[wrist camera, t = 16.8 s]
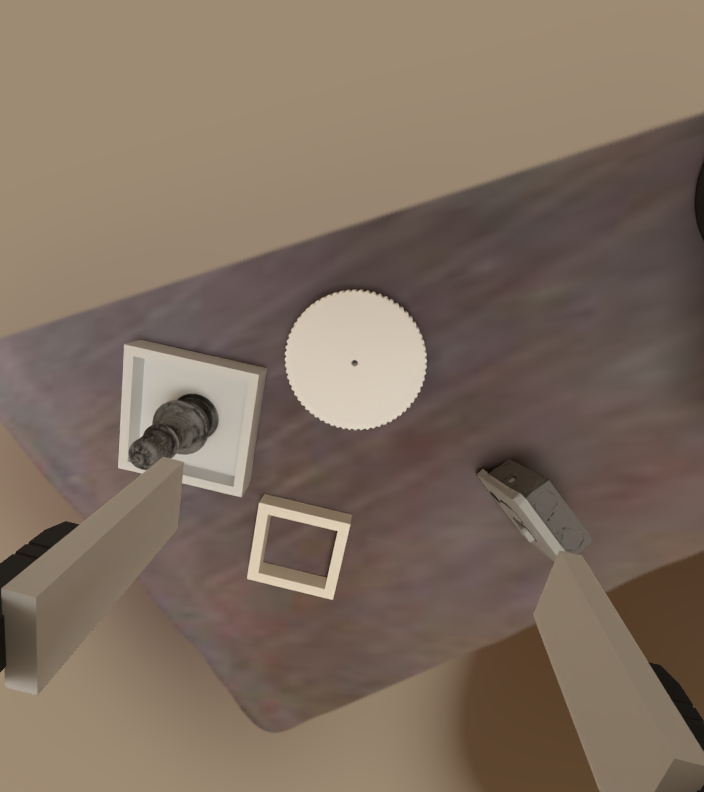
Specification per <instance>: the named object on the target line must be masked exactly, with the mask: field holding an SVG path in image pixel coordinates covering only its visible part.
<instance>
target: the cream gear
mask: <svg viewBox="0 0 704 792" xmlns="http://www.w3.org/2000/svg"><path fill="white" fill-rule="evenodd" d="M393 301H394V300H393V299H390V300H389V299H388V297H387V296H385V297H383V296H382V294H380V293H379V294H376V292H374V291H373V292H372V293H371V292H370V291H369V290H367V291H366V292H365V291H363V290H362V289H360V290H359V291H357V289H354V290H352V291H351V290H350V289H349V290H346V292H345V291H344V290H343V291H340V292H339V293H338V292H335V293H333V295H332V294H329V295H327V297H326V296H325V297H323V298H321V299H320V300H317V301H316V302H315V303H313V304H311V305H310V307H309V308H307V309H306V310H305V312H303V313H302V314H301V317H299V318H298V319H297V320H298V321H297V322H295V323H294V326H295V327H293V328H292V329H291V331H292V333H290V334H289V337H290V338H289V339H288V340H287V343H288V345H287V346H286V349H287V351H286V352H285V355H286V358H285V361H286V364H285V367H287V370H286V373H288V376H287V378H288V379H289V380H290V382H289V384H290V385H292V388H291V389H292V390H294V392H295V393H294V395H295V396H297V397H298V398H297V399H298V401H301V402H302V403H301V404H302V406H303V405H304V406H305V409H306V410H309V411H310V413H311V414H314V416H315V417H316V418H317V417H319V418H320V419H319V420H321V421H322V420H324V421H325V423H330V425H331V426H333V425H336V427H337V428H339V427H342V429H345V428H348V430H351V429H354V430H357V429H360V430H363V429H364V428H366V430H368V429H369V428H372V429H373V428H375V426H378V427H380V426H381V424H383V425H385V424H386V422H391V421H392V419H396V418H397V416H398V415H399V416H401V415H402V412H405V411H406V408H407V407H408V408H409V407H410V406H411V405H410V404H411V403H413V402H414V398H417V396H418V394H417V393H418V392H420V391H421V390H420V387H422V386H423V382H422V381H424V380H425V377H424V375H426V370H425V369H426V368H427V365H426V362H427V358H426V356H427V354H426V348H425V344H424V340H423V338H422V334H421V332H419V331H420V330H419V327H418V326H416V322H415V321H413V318H412V316H409V314H408V312H407V311H404V308H403V307H402V306H401V307H400V306H399V304H398V303H397V302H396V303H394V302H393ZM354 360H356V361H357V362H355V361H354Z"/></svg>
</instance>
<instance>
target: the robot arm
mask: <svg viewBox="0 0 704 792" xmlns="http://www.w3.org/2000/svg"><path fill="white" fill-rule="evenodd" d="M696 214H697V220H698V224H699V228H700V230H701V233H702V235H703V237H704V165H703V168H702V171H701V174H700V177H699V181H698V186H697V193H696ZM183 468H184V462H183V461H179V460H174V459H170V458H166V457H162V458H161V459H160V460H159V461H157V462H156V463H155V464H154V465H152V466H151V467H150V468H149V469H147V470H146V471H145V472H144V473H143V474H141V475H140V476H139V477H138V478H136V479H135V480H134V481H133V482H131V483H130V484H129V485H128V486H127V487H125V488H124V489H123V490H122V491H120V492H119V493H118V494H117V495H116V496H114V497H113V498H112V499H111V500H109V501H108V502H107V503H106V504H104V505H103V506H102V507H101V508H100V509H98V510H97V511H96V512H95V513H93V514H92V515H91V516H90V517H88V518H87V519H86V520H85V521H84V522H82V523H81V524H80V525H79V524H75V523H71V522H67V521H66V522H63V523H61V524H58V525H56V526H53V527H51V528H49V529H46V530H44V531H43V532H42V533H40V534H39V535H38V536H36V537H35V538H34V539H33V540H31V541H30V542H29V544H28V545H27V544H26V545H24V546H23V547H22V548H20V549H19V550H18V551H16V553H15V555H14V554H13V555H11V556H10V557H8V558H7V559H6V560H4V561H3V562H2V563H0V672H1V671H2V670H3V669H4V668H5V687H7V688H11V689H14V690H19V691H22V692H26V693H30V694H34V695H38V694H39V693H40V692H41V691H42V690H43V688H44V687H45V686H46V685H47V684H48V682H49V681H50V680H51V679H52V678H53V676H54V675H55V674H56V673H57V672H58V670H59V669H60V668H61V667H62V665H64V663H65V662H66V661H67V660H68V659H69V657H70V656H71V655H72V654H73V652H74V651H75V650H76V649H77V648H78V647H79V646H80V644H81V643H82V642H83V641H84V639H85V638H86V637H87V636H88V635H89V633H90V632H91V631H92V630H93V629H94V628H95V627H96V625H97V624H98V623H99V622H100V620H101V619H102V618H103V617H104V616H105V615H106V613H107V612H108V611H109V610H110V609H111V607H112V606H113V605H114V604H115V603H116V602H117V600H118V599H119V598H120V597H121V596H122V594H123V593H124V592H125V591H126V590H127V588H128V587H129V586H130V585H131V584H132V582H133V581H134V580H135V579H136V578H137V577H138V575H139V574H140V573H141V572H142V571H143V569H144V568H145V567H146V566H147V565H148V563H149V562H150V561H151V560H152V559H153V558H154V556H155V555H156V554H157V553H158V552H159V550H160V549H161V548H162V547H163V546H164V544H165V543H166V542H167V541H168V540H169V538H170V537H171V536H172V535H173V534H174V533H175V531H176V530H177V529H178V519H179V509H180V499H181V489H182V478H183ZM533 616H534V619H535V621H536V624H537V627H538V629H539V632H540V635H541V637H542V640H543V643H544V645H545V648H546V650H547V653H548V656H549V658H550V661H551V664H552V666H553V669H554V672H555V674H556V677H557V679H558V682H559V685H560V688H561V690H562V693H563V696H564V698H565V701H566V703H567V706H568V709H569V711H570V714H571V717H572V720H573V722H574V725H575V727H576V730H577V733H578V735H579V738H580V741H581V744H582V746H583V749H584V751H585V754H586V756H587V759H588V762H589V765H590V767H591V770H592V772H593V775H594V778H595V780H596V783H597V786H598V788H599V791H600V792H704V721H703V719H702V718H701V716H700V715H699V713H698V712H697V710H696V708H693V704H692V702H691V701H690V699H689V698H688V696H687V695H686V693H685V692H684V690H683V689H682V687H681V686H680V684H679V683H678V682H677V681H676V680H675V679H673V678H672V676H671V675H670V674H669V673H668V672H667V671H666V670H664V668H663V667H662V666H661V665H658V664H653V663H649V662H648V661H647V660H646V658H645V656H644V655H643V653H642V651H641V650H640V648H639V647H638V645H637V643H636V642H635V640H634V639H633V637H632V635H631V634H630V632H629V631H628V629H627V627H626V626H625V624H624V623H623V621H622V619H621V618H620V616H619V614H618V613H617V611H616V610H615V608H614V606H613V605H612V603H611V602H610V600H609V598H608V597H607V595H606V593H605V592H604V590H603V589H602V587H601V585H600V584H599V582H598V581H597V579H596V577H595V576H594V574H593V572H592V571H591V569H590V568H589V566H588V564H587V563H586V561H585V560H584V558H583V556H581V555H577V554H573V553H569V552H564V551H560V550H559V552H558V555H557V557H556V560H555V562H554V565H553V567H552V570H551V572H550V575H549V577H548V580H547V582H546V585H545V587H544V590H543V592H542V594H541V597H540V599H539V602H538V604H537V607H536V609H535V612H534V614H533Z"/></svg>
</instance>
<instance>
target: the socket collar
mask: <svg viewBox="0 0 704 792" xmlns="http://www.w3.org/2000/svg"><path fill="white" fill-rule="evenodd" d="M271 515H273V516H277V517H281V518H285V519H289V520H294V521H298V522H302V523H306V524H310V525H314V526H319V527H323V528H327V529H331V530H335V531H338V532H337V537H336V541H335V546H334V550H333V555H332V559H331V563H330V568H329V572H328V577H322V576H318V575H314V574H310V573H306V572H302V571H298V570H294V569H290V568H286V567H281V566H277V565H273V564H269V563H265V562H263V560H264V555H265V549H266V543H267V537H268V531H269V525H270V519H271ZM351 519H352V514H347V513H343V512H339V511H335V510H330V509H326V508H322V507H318V506H314V505H309V504H305V503H301V502H297V501H292V500H288V499H284V498H280V497H276V496H271V495H267V494H264V495H263V497H262V499H261V500H260V502H259V506H258V513H257V519H256V525H255V532H254V538H253V544H252V550H251V557H250V563H249V569H248V576H247V579H250V580H254V581H258V582H262V583H266V584H270V585H274V586H278V587H282V588H286V589H290V590H295V591H299V592H303V593H307V594H311V595H315V596H319V597H323V598H327V599H331V600H333V597H334V593H335V589H336V584H337V580H338V576H339V571H340V567H341V563H342V558H343V554H344V550H345V546H346V541H347V537H348V533H349V528H350V524H351Z"/></svg>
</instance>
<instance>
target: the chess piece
mask: <svg viewBox="0 0 704 792" xmlns="http://www.w3.org/2000/svg"><path fill="white" fill-rule="evenodd" d="M218 422H219V418H218V413H217V410H216V408H215V406H214V405H213V403H212V402H211V401H210V400H209V399H207V398H205V397H204V396H202V395H198V394H186V395H183V396H182V397H180V398H178V399H177V400H173V401H169V402H166V403H164V404H162V405H161V406H160V407H159V408H158V409H157V410H156V412H155V414H154V416H153V422H152V425H151V426H150V427H148V428H147V429H146V430H145V432H144V434H143V436H142V437H140V438H139V439H137V440H136V441H134V442H133V443H132V445H131V446H130V448H129V452H128V454H129V459H130V461H131V463H132V464H133V465H134V466H135V467H137V468H139V469H142V470H147V469H149V468H150V467H151V466H152V465H154V464H155V463H156V462H157V461H159V460H160V459H161V458H162V457H166V458H170V459H171V458H173V457H174V456H175V455H176V454H181V455H188V454H193V453H195V452H197V451H199V450H200V449H201V448H202V447H203V446H204V444H205V443H206V441H207V438H208V437H209V436H211V435H212V434H213V433H214V432H215V431H216V429H217V427H218Z"/></svg>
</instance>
